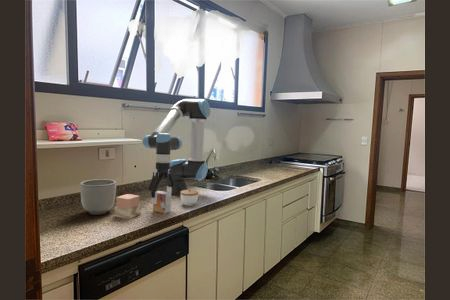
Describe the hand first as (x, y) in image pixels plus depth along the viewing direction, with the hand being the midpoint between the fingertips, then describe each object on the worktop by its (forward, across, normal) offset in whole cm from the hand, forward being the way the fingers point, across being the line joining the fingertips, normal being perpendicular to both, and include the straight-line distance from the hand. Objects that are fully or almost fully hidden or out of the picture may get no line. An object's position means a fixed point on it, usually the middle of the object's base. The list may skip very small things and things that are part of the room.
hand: (161, 200), depth 153 cm
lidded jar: (+6, -20, +6) cm, 21 cm away
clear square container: (+6, +13, -11) cm, 19 cm away
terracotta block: (+1, +14, -11) cm, 18 cm away
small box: (+6, 0, 0) cm, 6 cm away
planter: (+6, +18, -27) cm, 33 cm away
